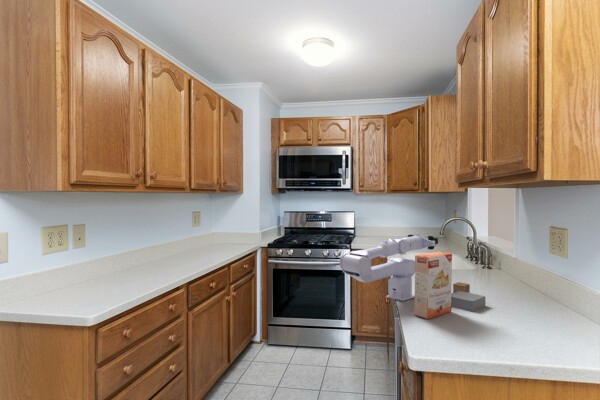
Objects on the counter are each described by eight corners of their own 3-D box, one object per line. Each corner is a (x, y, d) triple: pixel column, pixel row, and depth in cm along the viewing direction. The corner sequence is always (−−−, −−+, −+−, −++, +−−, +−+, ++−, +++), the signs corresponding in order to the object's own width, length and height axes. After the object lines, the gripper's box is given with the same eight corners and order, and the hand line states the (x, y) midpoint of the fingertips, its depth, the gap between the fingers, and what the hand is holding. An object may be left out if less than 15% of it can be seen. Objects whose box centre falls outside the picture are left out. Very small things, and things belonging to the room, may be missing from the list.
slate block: (473, 312, 127) (473, 301, 127) (446, 306, 135) (446, 295, 135) (485, 306, 133) (485, 296, 133) (459, 300, 141) (459, 290, 141)
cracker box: (429, 320, 119) (429, 257, 118) (413, 315, 123) (413, 254, 123) (452, 312, 127) (452, 252, 126) (437, 307, 132) (437, 250, 131)
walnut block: (464, 298, 143) (464, 286, 143) (453, 296, 147) (453, 283, 147) (469, 296, 146) (469, 284, 146) (458, 294, 150) (458, 282, 150)
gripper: (426, 235, 143) (444, 231, 152) (395, 233, 155) (414, 230, 163) (426, 252, 144) (444, 248, 152) (396, 249, 155) (415, 245, 163)
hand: (429, 240), depth 158 cm, fingers open, 7 cm apart
